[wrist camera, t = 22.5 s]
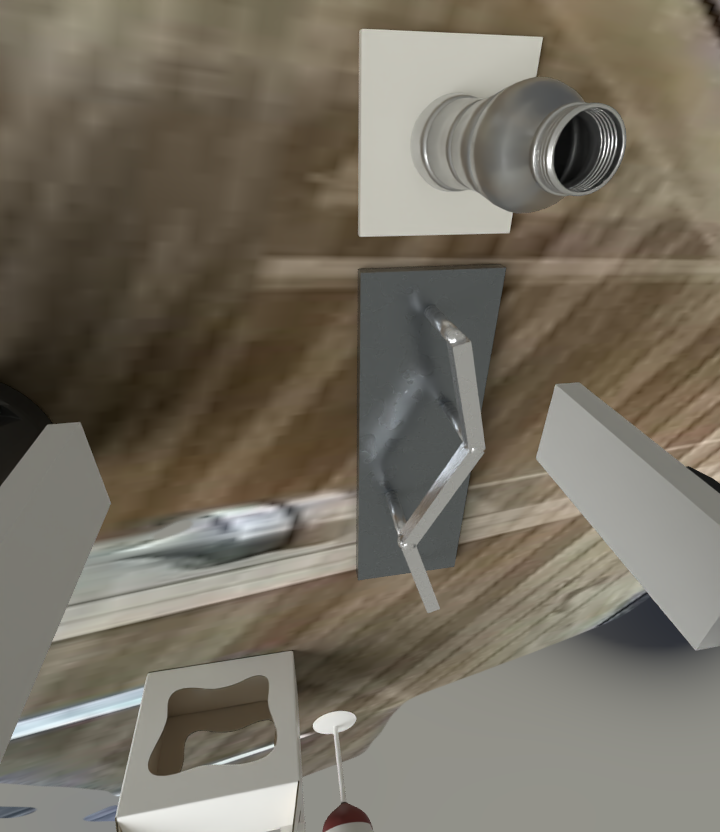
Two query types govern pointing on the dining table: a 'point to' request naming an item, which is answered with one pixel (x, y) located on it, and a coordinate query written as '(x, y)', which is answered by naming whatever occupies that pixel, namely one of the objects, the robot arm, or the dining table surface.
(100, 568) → the dining table surface
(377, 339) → the grey platform with railing
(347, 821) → the wineglass
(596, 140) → the plastic bottle
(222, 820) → the gable box
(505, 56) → the pad
